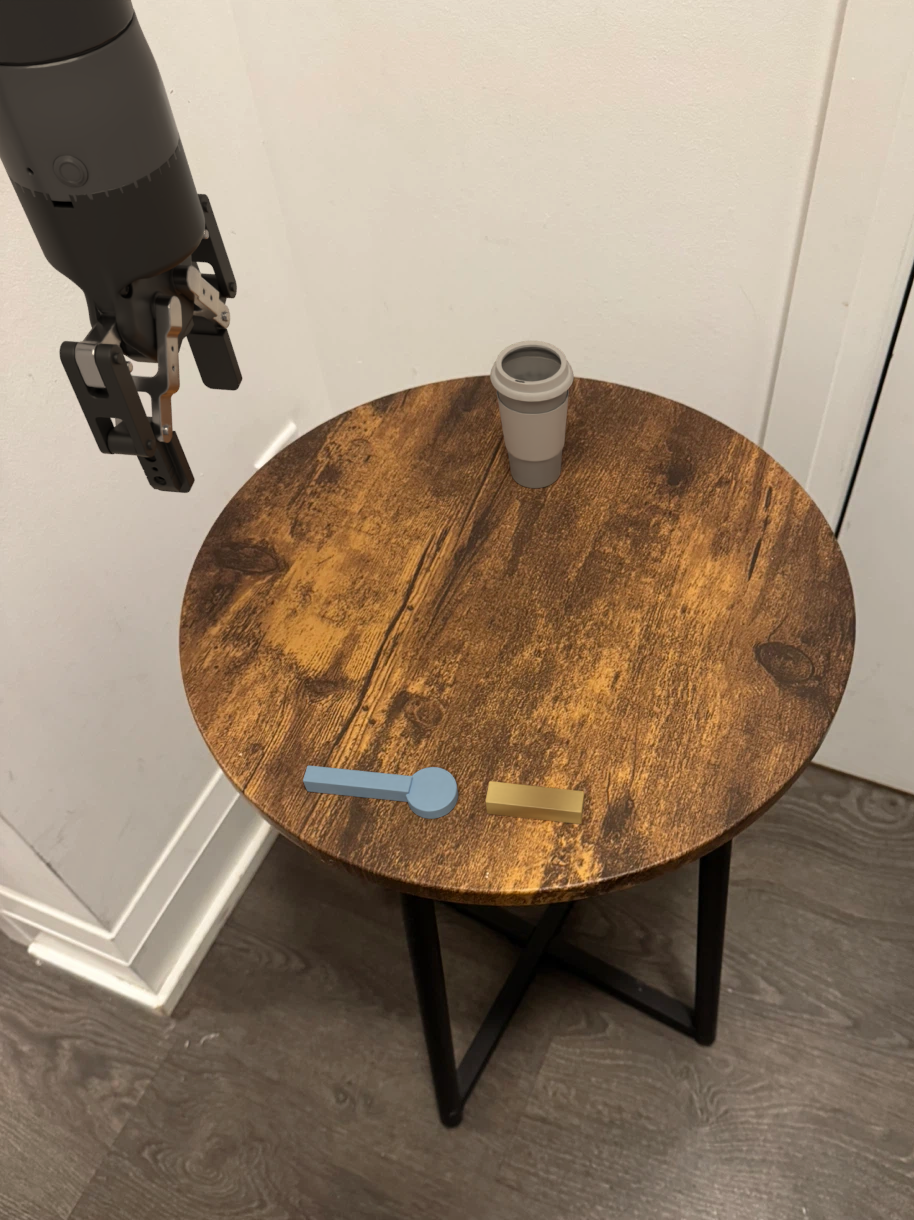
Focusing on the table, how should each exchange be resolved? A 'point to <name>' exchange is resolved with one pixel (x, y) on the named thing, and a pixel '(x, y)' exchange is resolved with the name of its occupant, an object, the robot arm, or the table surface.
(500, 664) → the table surface
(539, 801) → the fry stick
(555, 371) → the cup
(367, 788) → the spoon
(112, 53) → the robot arm
